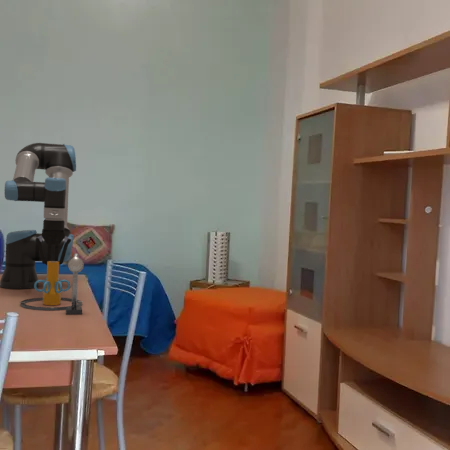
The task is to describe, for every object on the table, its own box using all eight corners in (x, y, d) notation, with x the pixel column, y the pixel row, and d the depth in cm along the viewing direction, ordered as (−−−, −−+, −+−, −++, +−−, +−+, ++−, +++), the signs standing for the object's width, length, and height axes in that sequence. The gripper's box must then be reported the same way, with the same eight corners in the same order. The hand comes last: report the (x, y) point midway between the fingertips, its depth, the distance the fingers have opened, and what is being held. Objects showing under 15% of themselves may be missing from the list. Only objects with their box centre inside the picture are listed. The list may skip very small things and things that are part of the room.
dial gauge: (65, 309, 191) (67, 251, 191) (80, 309, 193) (82, 252, 192) (66, 314, 183) (68, 254, 182) (82, 314, 185) (84, 254, 184)
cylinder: (57, 308, 193) (59, 264, 192) (29, 305, 195) (30, 262, 194) (73, 302, 205) (74, 261, 204) (46, 300, 207) (48, 259, 206)
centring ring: (20, 299, 205) (20, 296, 205) (81, 299, 212) (81, 296, 212) (17, 311, 185) (17, 307, 185) (85, 310, 192) (85, 307, 192)
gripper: (35, 219, 204) (33, 284, 206) (72, 220, 208) (70, 284, 210) (35, 218, 211) (33, 280, 213) (71, 219, 215) (69, 281, 217)
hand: (51, 282), depth 211 cm, fingers closed
